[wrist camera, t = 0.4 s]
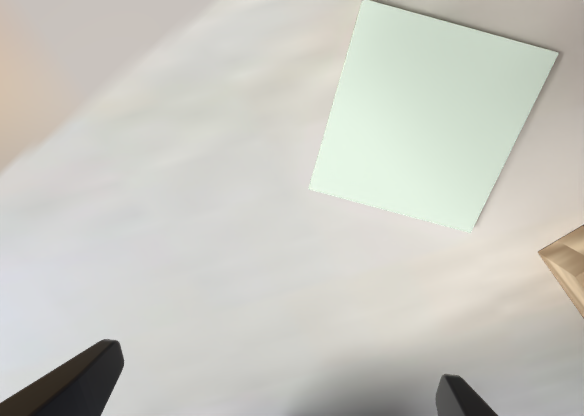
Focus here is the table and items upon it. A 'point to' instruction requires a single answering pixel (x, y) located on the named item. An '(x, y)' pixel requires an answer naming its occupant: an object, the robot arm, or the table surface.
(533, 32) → the table surface
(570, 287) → the collar
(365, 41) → the pad
